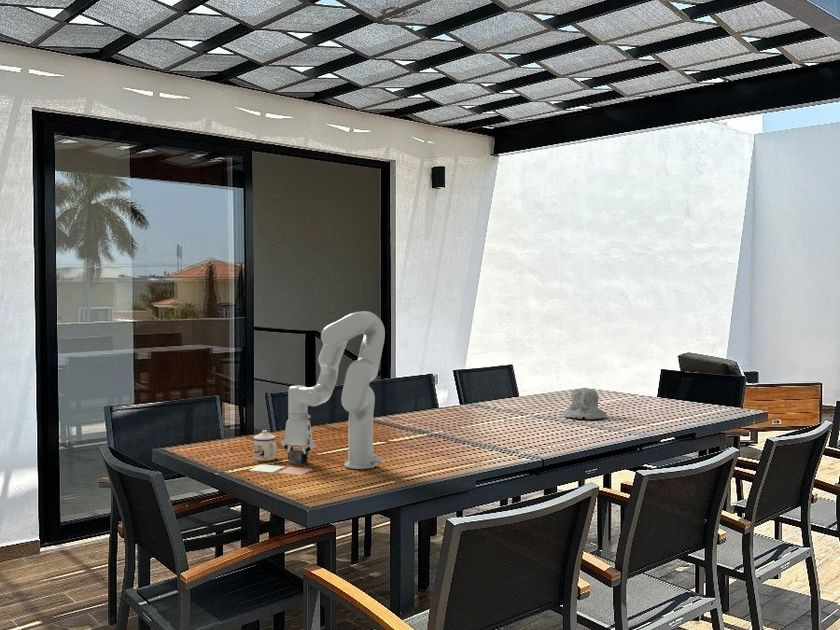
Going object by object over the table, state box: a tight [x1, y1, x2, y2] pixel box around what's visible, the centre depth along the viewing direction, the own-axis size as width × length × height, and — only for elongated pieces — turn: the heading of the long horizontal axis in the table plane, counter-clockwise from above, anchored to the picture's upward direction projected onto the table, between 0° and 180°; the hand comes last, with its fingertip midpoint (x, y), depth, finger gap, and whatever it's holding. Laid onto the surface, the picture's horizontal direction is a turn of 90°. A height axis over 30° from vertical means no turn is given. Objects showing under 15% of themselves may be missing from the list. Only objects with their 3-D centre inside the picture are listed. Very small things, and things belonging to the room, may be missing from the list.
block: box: [288, 448, 303, 465], centre depth 316 cm, size 5×5×5 cm
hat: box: [562, 387, 608, 420], centre depth 433 cm, size 26×23×15 cm
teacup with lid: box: [252, 429, 278, 462], centre depth 322 cm, size 12×9×12 cm
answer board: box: [249, 464, 314, 476], centre depth 303 cm, size 22×10×1 cm, turn 72°
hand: (297, 462), depth 316 cm, fingers closed on block, 5 cm apart
